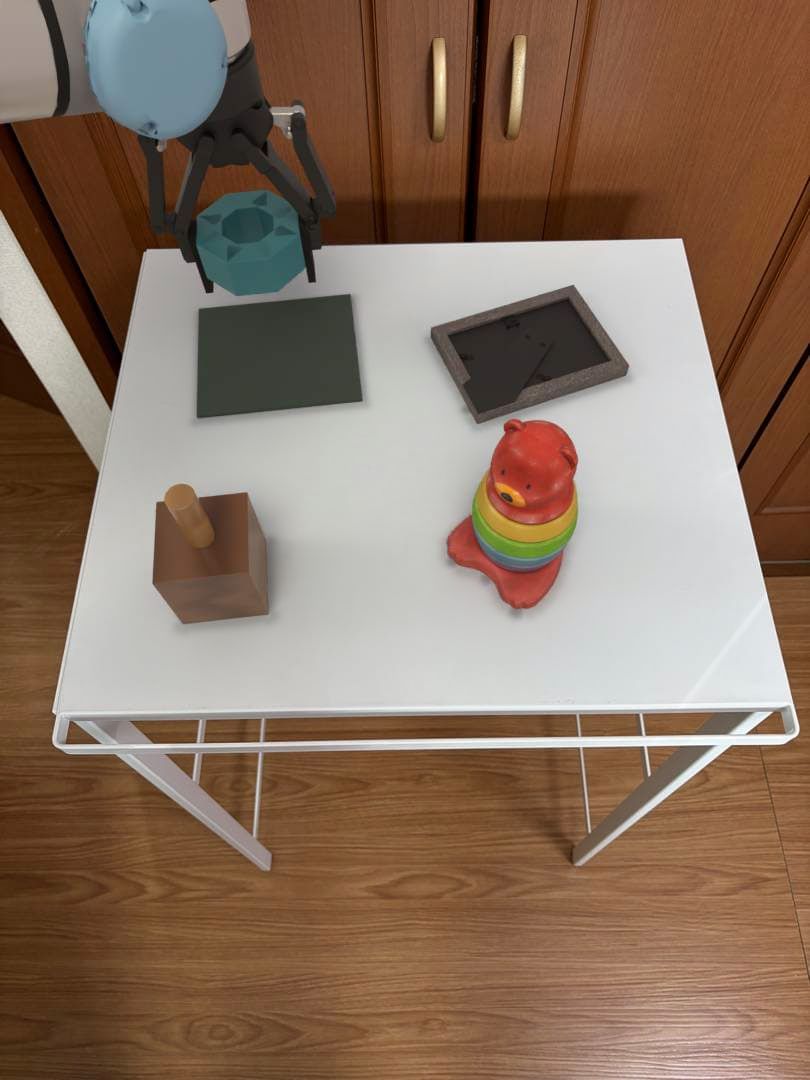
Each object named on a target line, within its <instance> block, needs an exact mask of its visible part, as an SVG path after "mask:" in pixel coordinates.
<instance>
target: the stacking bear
mask: <svg viewBox="0 0 810 1080" xmlns="http://www.w3.org/2000/svg"><path fill="white" fill-rule="evenodd" d="M502 427H503V432H504V434H503V435H502V436H501V437H500V440H499V441H498V442H497V444H496V446H495V448H494V450H493V452H492V456H491V459H490V465H489V467H488V469H487V470H486V472H485V473H484V475H483V477H482V479H481V481H480V482H479V484H478V486H477V488H476V490H475V493H474V497H473V500H472V506H471V514H470V515H469V516H467V517H466V518H465V519H463V520H462V521H461V522H460V523H459V524H458V525H457V526H456V527H455V528H454V529H453V530H452V531H451V532H450V534H449V535H448V537H447V540H446V546H447V555H448V556H449V557H450V558H451V559H452V560H453V561H454V562H455V564H457V565H458V566H461V567H464V568H470V569H474V570H477V571H479V572H481V573H483V574H485V575H486V576H487V577H488V578H489V579H490V580H491V581H492V582H493V583H494V585H495V586H496V589H497V591H498V595H499V597H500V598H501V600H502V601H503V603H506V604H509V605H510V606H511V607H512V608H513V609H515V610H519V609H525V610H528V609H531V608H534V607H535V606H537V605H538V604H539V603H540V602H542V600H543V599H544V598H545V597H546V596H547V594H548V593H549V592H550V590H551V589H552V587H553V586H554V584H555V583H556V580H557V577H558V576H559V573H560V570H561V567H562V564H563V563H562V562H563V558H564V557H563V555H564V549H565V548H566V546H567V545H568V543H570V540H571V538H572V537H573V535H574V533H575V529H576V528H577V523H578V517H579V501H578V492H577V486H576V483H575V480H574V478H575V475H576V473H577V468H578V464H579V456H578V453H577V449H576V446H575V444H574V442H573V440H572V438H571V437H570V436H569V434H568V433H567V431H566V430H564V429H563V427H561V426H559V425H558V424H556V423H554V422H552V421H548V420H542V419H532V420H526V421H522V420H521V419H517V418H511V419H508V420H507V421H505V422H504V423H503V426H502Z"/></svg>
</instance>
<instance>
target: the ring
mask: <svg viewBox="0 0 810 1080" xmlns="http://www.w3.org/2000/svg"><path fill="white" fill-rule="evenodd" d="M196 220H197V233H196V246H197V249H198V252H199V255H200V258H201V261H202V264H203V267H204V270H205V273H206V276H207V278H208V279H209V280H211V281H213V282H214V284H216V285H217V286H219V287H221V288H222V289H224V290H225V291H227V292H229V293H230V294H232V295H234V296H235V297H243V296H252V295H261V294H262V295H263V294H264V295H265V294H273V293H278V292H280V291H281V290H282V289H284V288H285V287H286V286H287V285H288V284H289V283H290V282H292V281H293V280H294V279H296V278H297V277H298V276H299V275H300V274H301V273H302V272H304V270H306V265H305V258H304V253H303V247H302V241H301V236H300V230H299V223H298V213H297V212H296V211H295V209H294V208H293V207H292V206H291V205H290V204H289V202H288V201H287V200H286V199H285V198H284V197H282V196H279V195H277V193H274V192H272V191H270V190H269V189H261V190H251V191H242V192H231V193H225V194H223V196H221V197H220V198H218V199H217V200H216V201H215V202H213V203H212V204H210V205H209V206H208V207H207V208H205V209H204V210H203V211H202V212H200V213H198V214H197V216H196Z"/></svg>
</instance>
